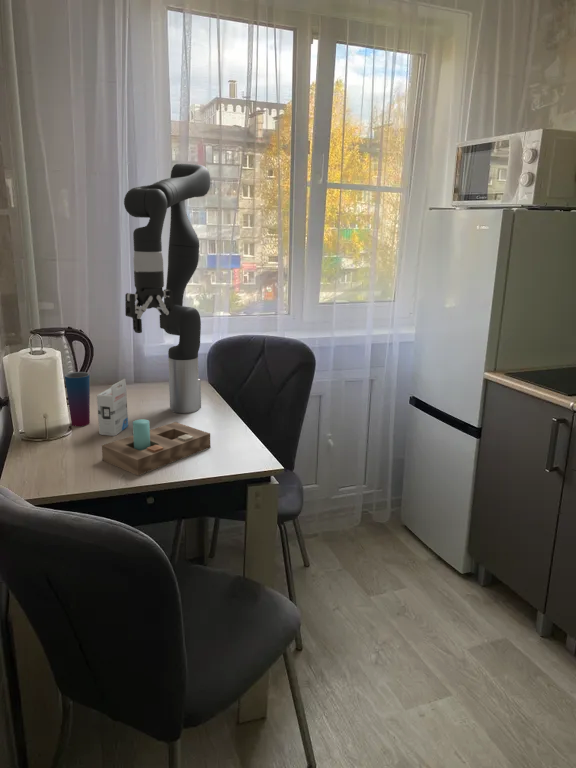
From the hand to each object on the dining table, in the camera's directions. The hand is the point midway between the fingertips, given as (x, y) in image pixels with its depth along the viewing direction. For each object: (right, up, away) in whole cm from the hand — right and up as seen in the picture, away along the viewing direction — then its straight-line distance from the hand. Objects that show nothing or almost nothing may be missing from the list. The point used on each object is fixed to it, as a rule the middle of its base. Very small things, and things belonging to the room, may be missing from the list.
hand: (151, 330), depth 155 cm
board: (+3, -32, -5) cm, 33 cm away
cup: (-25, -26, +16) cm, 39 cm away
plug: (0, -33, -8) cm, 35 cm away
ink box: (-13, -28, +11) cm, 33 cm away
